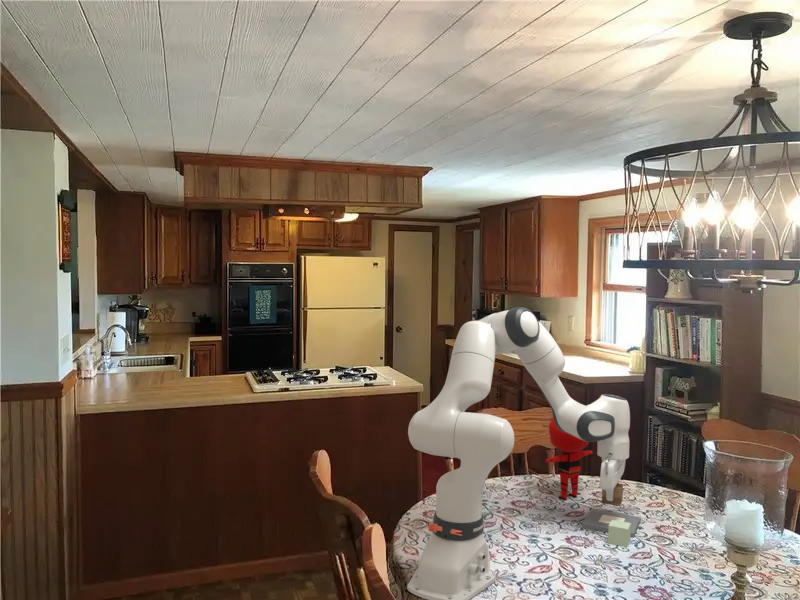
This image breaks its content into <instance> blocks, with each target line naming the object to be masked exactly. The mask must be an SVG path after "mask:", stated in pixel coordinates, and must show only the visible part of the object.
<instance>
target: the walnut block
mask: <svg viewBox="0 0 800 600" xmlns="http://www.w3.org/2000/svg"><path fill="white" fill-rule="evenodd" d="M623 492H624V484H623V483H619V482H618V483H617V485H616V486H615V488H614V490H613V494H614V499H613V501H607V499H606V490H602V489H601V504H605V505H611V506H616V507H620V506H621V505H622V503H623V496H624V495H623V494H624V493H623Z"/></svg>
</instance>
